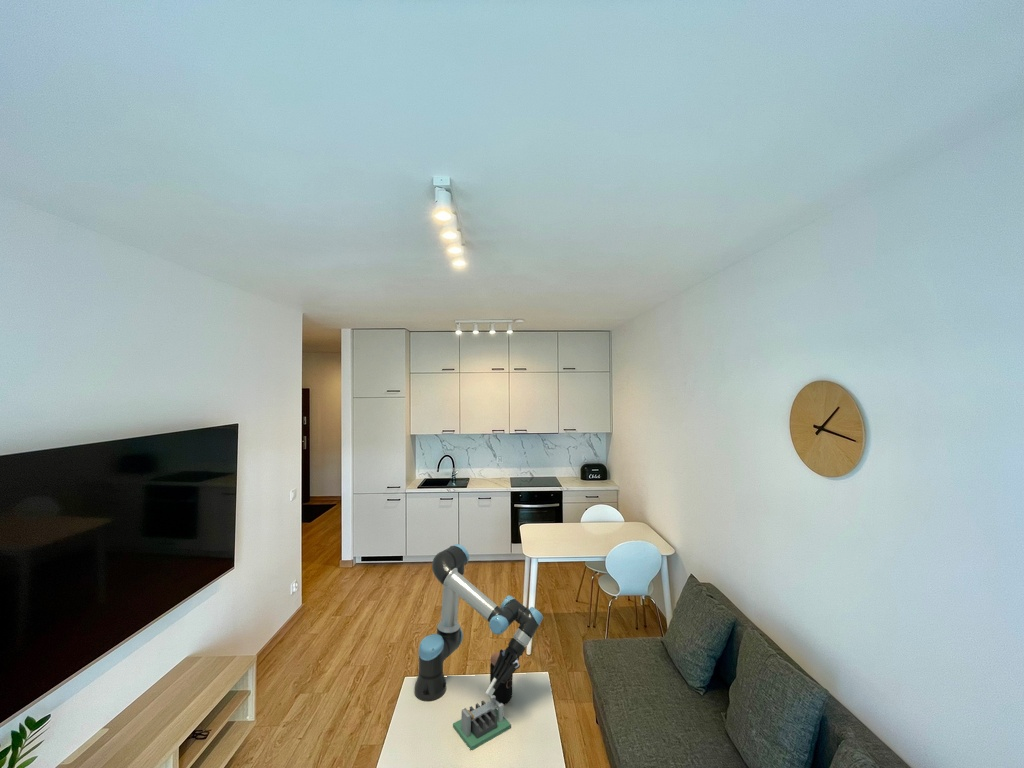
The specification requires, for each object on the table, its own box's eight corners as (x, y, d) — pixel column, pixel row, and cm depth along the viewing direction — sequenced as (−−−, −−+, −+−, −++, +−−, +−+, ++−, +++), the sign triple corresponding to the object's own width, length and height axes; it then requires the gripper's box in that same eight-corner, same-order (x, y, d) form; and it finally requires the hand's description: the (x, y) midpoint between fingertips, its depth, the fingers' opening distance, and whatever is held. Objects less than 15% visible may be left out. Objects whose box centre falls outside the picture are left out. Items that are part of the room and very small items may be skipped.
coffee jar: (509, 707, 188) (510, 667, 189) (487, 703, 190) (487, 663, 191) (514, 691, 198) (514, 653, 199) (492, 688, 200) (493, 650, 201)
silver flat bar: (466, 716, 174) (466, 711, 174) (495, 701, 183) (495, 695, 183) (471, 722, 171) (471, 716, 171) (500, 706, 180) (500, 701, 180)
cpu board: (452, 727, 176) (453, 704, 177) (491, 707, 188) (492, 685, 189) (470, 750, 164) (471, 726, 165) (511, 728, 176) (511, 705, 176)
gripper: (532, 653, 184) (501, 707, 173) (515, 639, 194) (485, 689, 184) (523, 645, 181) (491, 699, 171) (506, 631, 192) (475, 682, 181)
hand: (488, 694), depth 177 cm, fingers closed
